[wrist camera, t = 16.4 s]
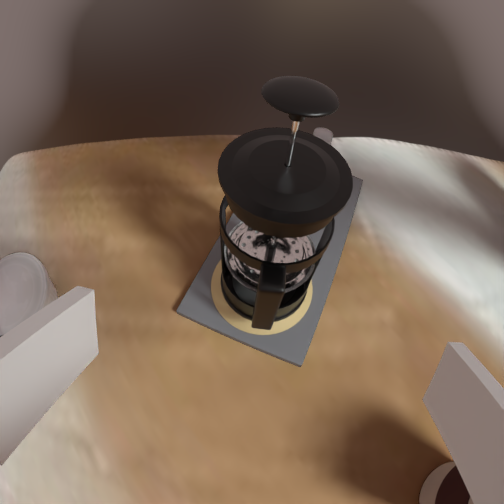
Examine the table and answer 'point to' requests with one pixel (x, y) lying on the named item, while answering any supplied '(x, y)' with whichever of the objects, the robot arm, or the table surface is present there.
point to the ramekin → (22, 289)
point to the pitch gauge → (304, 319)
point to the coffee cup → (445, 487)
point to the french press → (280, 203)
